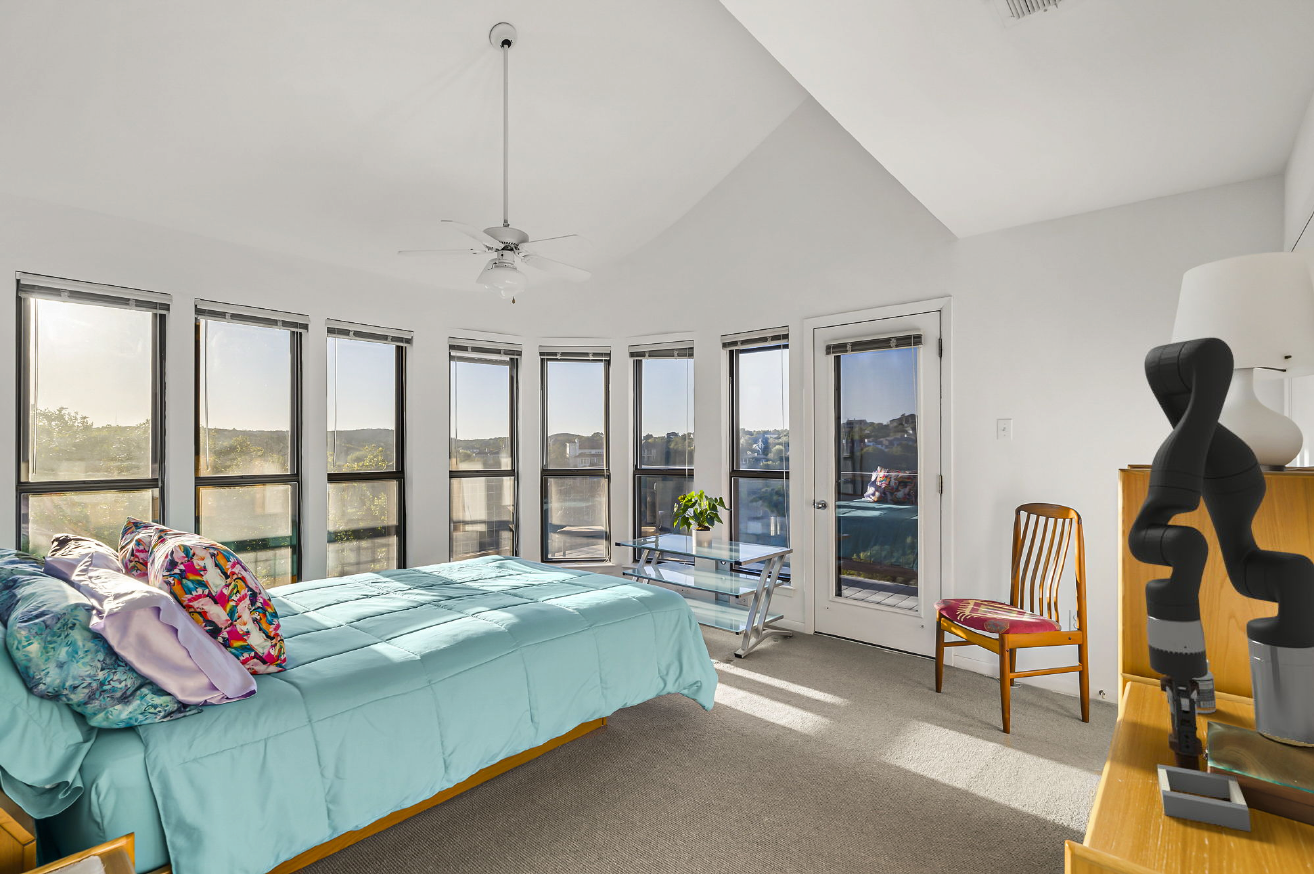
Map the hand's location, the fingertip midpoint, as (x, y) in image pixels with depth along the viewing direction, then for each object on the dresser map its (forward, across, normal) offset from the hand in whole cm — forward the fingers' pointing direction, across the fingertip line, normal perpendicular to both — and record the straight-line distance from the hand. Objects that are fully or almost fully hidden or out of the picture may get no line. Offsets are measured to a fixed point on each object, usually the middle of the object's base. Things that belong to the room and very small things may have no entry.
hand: (1185, 744), depth 107 cm
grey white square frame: (+4, -11, 0) cm, 12 cm away
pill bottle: (+5, +29, -4) cm, 30 cm away
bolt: (+5, 0, 0) cm, 5 cm away
